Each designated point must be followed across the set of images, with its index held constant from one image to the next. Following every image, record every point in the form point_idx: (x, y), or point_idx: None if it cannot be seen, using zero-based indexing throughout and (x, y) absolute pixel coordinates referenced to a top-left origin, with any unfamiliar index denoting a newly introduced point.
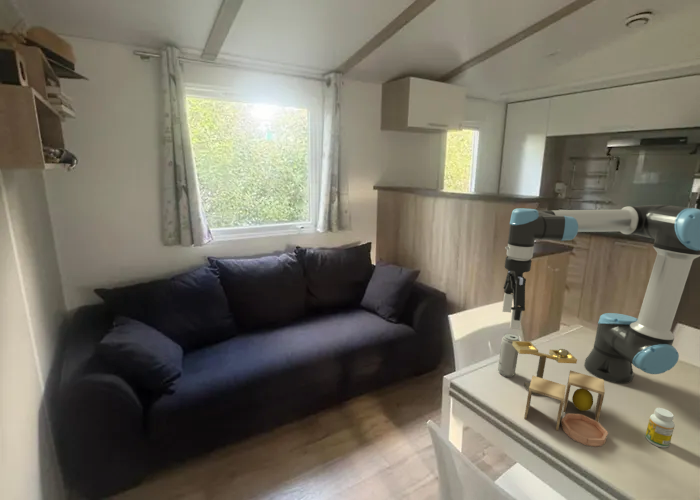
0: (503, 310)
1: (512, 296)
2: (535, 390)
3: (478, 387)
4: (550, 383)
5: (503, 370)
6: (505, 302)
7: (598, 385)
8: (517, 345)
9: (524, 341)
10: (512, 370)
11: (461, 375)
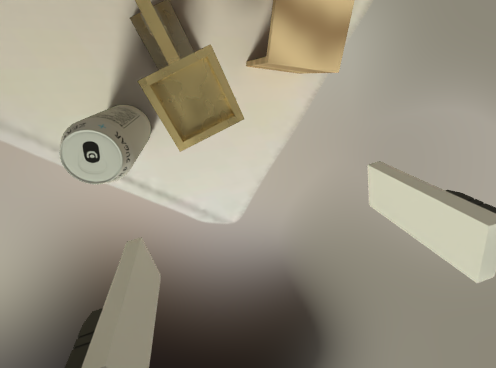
0: (158, 278)
1: (114, 349)
2: (341, 54)
3: (233, 173)
4: (291, 4)
5: (149, 136)
6: (149, 323)
7: None
8: (212, 131)
9: (154, 106)
10: (140, 114)
11: (206, 212)
